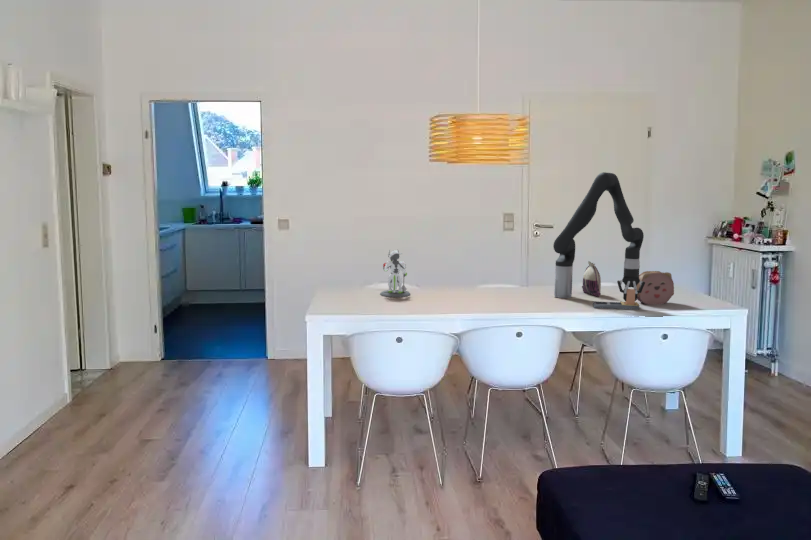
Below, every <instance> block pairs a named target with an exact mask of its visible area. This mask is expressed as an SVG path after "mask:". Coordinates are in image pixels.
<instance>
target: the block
mask: <svg viewBox="0 0 811 540" xmlns="http://www.w3.org/2000/svg"><path fill="white" fill-rule="evenodd" d="M626 294H627V297H626V301H625V300H624V302H625V304H634V305H635V302H636V301H635V290H634V288H628V290H627V292H626Z"/></svg>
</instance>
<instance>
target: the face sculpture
mask: <svg viewBox="0 0 811 540" xmlns="http://www.w3.org/2000/svg"><path fill="white" fill-rule="evenodd" d="M639 279H640V281H644V282H645V285H644V287H643V289H642V292H641V293H638V294H637V300H636V301H638V302H640V303H641V304H645V305H661V304H662V305H664V304H666V303H668V302H669V301H670V299H671V298H672V297H673V296H674V294H675V287H674V286H675V283H674V280H673V277H672V273H671V272H667V271H666V272H664V271H663V272H662V271H659V270H646V271H643V272H641V273H639ZM636 287H637V291H638V290H639V288H640V282H639V283H638V284H637V286H636Z"/></svg>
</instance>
